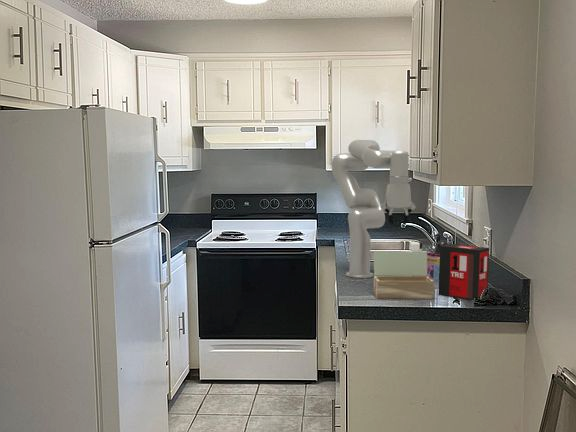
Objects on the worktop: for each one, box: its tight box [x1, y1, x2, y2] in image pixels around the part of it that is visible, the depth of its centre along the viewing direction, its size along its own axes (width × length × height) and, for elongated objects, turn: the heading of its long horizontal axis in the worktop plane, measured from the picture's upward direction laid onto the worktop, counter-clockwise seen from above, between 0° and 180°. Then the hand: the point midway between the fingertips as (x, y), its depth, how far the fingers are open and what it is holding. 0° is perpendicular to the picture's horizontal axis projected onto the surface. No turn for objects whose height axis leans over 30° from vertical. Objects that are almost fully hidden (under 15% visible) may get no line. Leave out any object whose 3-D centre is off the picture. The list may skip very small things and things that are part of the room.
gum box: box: [427, 252, 440, 290], centre depth 260 cm, size 24×8×14 cm, turn 48°
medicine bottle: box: [406, 241, 426, 252], centre depth 313 cm, size 7×7×12 cm
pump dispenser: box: [433, 239, 449, 254], centre depth 296 cm, size 10×10×15 cm
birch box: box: [372, 275, 435, 300], centre depth 242 cm, size 10×22×7 cm, turn 91°
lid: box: [373, 251, 428, 276], centre depth 247 cm, size 10×22×1 cm
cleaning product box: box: [438, 243, 490, 301], centre depth 242 cm, size 16×9×20 cm, turn 48°
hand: (397, 224), depth 253 cm, fingers open, 4 cm apart
